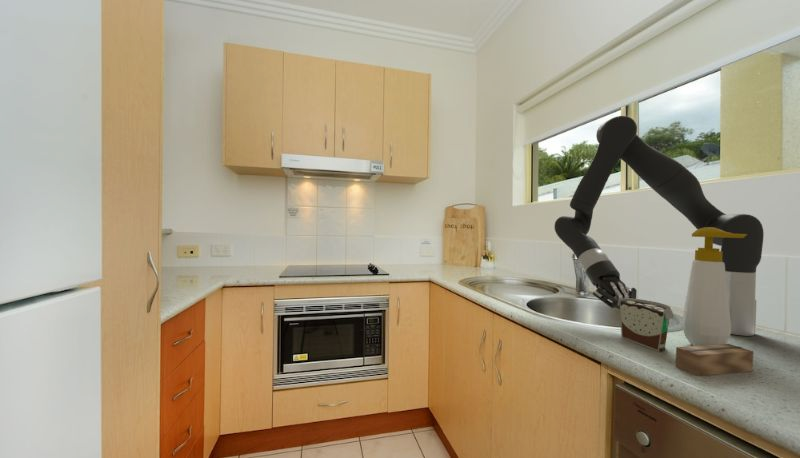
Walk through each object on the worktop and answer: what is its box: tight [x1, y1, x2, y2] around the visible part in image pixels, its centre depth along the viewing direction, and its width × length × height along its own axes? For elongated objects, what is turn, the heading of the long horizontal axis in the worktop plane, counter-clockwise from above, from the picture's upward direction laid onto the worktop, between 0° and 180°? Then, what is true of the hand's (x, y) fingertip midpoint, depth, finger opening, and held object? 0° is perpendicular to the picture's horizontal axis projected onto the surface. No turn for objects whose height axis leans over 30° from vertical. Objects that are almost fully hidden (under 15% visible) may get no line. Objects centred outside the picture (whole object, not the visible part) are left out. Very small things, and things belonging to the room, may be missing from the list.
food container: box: [618, 298, 674, 353], centre depth 77 cm, size 12×6×10 cm, turn 13°
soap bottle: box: [681, 227, 747, 346], centre depth 74 cm, size 13×10×29 cm
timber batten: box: [675, 343, 754, 377], centre depth 63 cm, size 14×4×4 cm, turn 102°
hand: (634, 320), depth 81 cm, fingers closed
